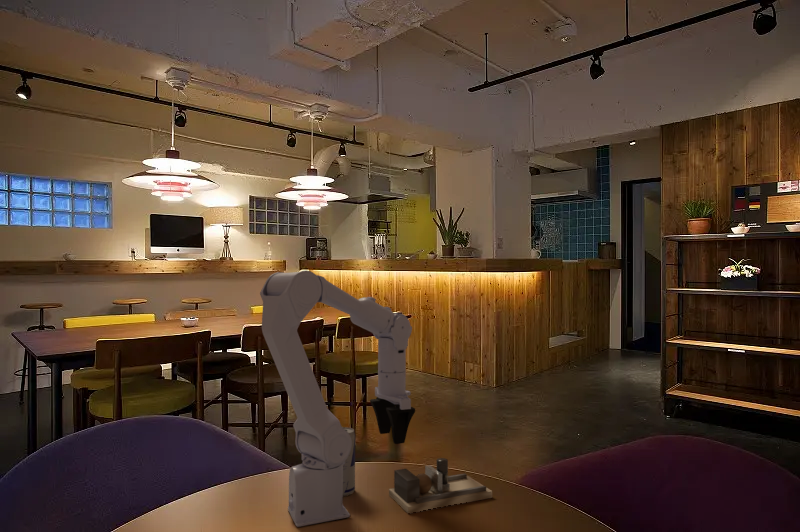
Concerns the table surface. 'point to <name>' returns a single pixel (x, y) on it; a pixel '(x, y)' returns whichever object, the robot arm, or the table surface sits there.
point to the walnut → (424, 483)
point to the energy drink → (349, 467)
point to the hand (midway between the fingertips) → (391, 438)
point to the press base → (413, 501)
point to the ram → (439, 476)
